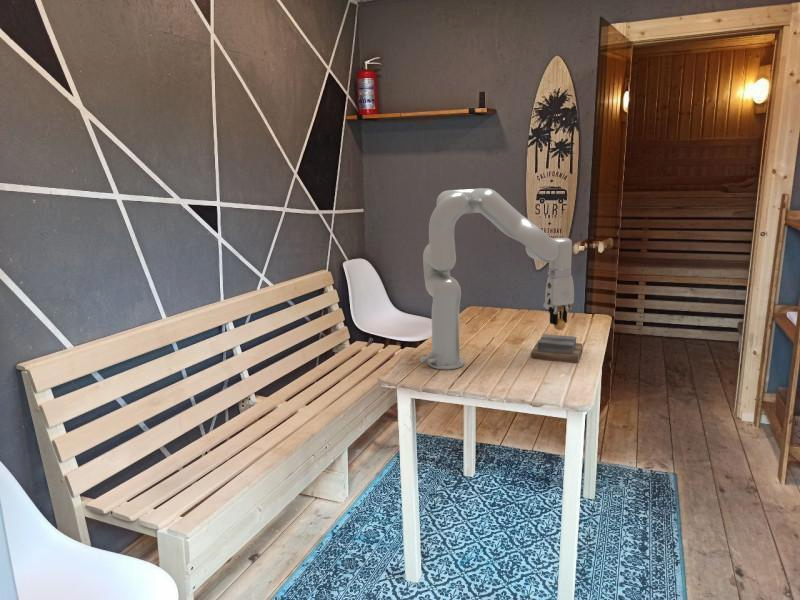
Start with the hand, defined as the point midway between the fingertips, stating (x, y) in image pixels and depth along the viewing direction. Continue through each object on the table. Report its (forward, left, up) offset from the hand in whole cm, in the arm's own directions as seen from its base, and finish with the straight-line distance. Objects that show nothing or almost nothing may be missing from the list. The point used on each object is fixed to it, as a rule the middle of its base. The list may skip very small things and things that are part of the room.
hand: (558, 322), depth 203 cm
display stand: (0, 0, -12) cm, 12 cm away
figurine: (+1, 0, -3) cm, 3 cm away
